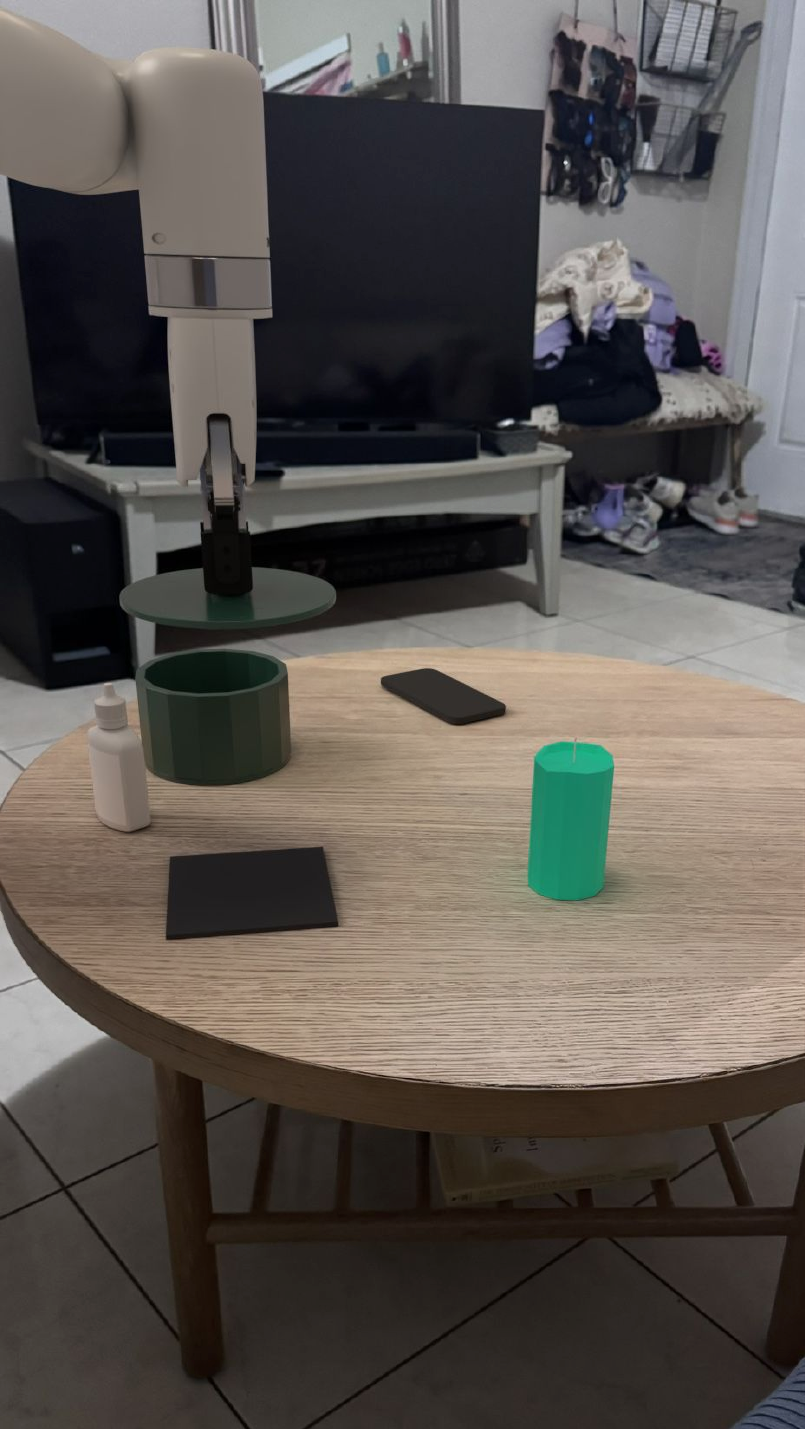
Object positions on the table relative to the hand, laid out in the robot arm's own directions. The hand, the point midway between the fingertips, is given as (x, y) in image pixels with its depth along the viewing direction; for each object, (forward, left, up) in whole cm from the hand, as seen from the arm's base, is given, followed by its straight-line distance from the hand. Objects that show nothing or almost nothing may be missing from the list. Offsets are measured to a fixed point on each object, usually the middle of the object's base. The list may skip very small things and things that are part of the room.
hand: (228, 583), depth 80 cm
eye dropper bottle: (-10, +11, -23) cm, 27 cm away
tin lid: (0, 0, -1) cm, 1 cm away
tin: (-2, +24, -23) cm, 33 cm away
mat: (0, -3, -23) cm, 23 cm away
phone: (+22, +37, -23) cm, 49 cm away
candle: (+24, -5, -23) cm, 34 cm away
